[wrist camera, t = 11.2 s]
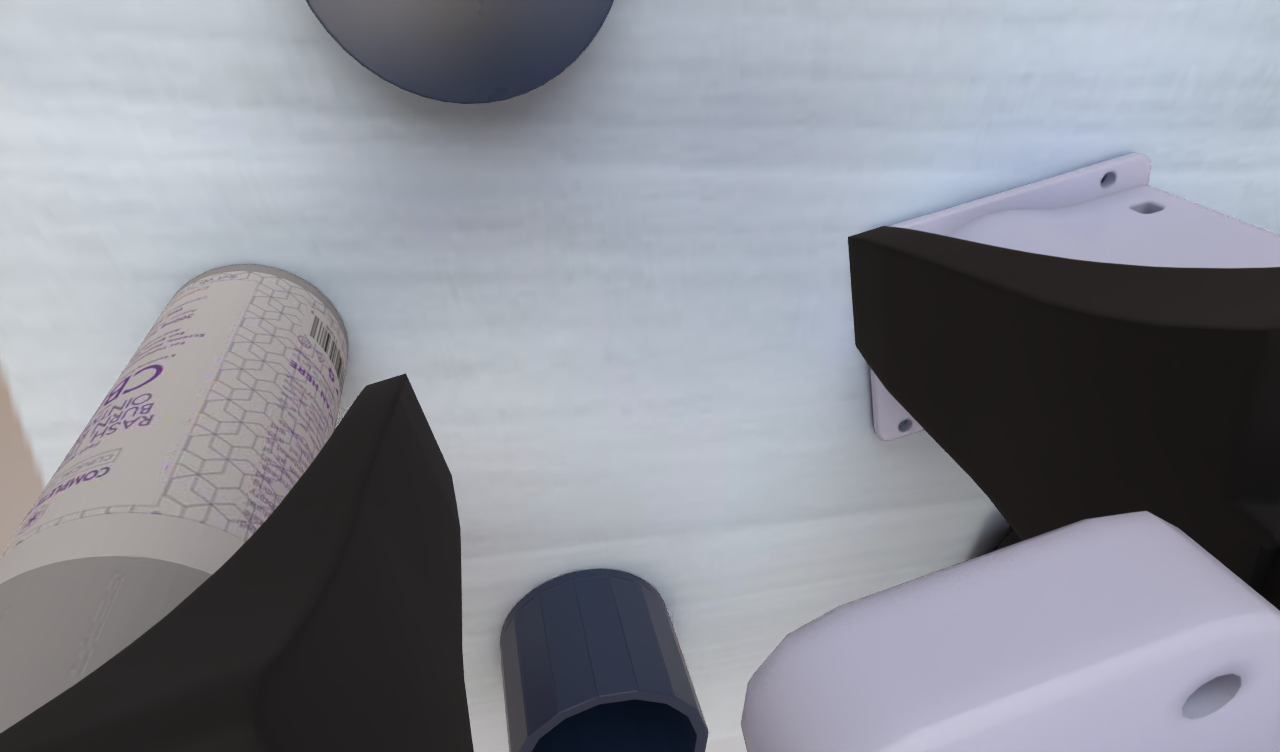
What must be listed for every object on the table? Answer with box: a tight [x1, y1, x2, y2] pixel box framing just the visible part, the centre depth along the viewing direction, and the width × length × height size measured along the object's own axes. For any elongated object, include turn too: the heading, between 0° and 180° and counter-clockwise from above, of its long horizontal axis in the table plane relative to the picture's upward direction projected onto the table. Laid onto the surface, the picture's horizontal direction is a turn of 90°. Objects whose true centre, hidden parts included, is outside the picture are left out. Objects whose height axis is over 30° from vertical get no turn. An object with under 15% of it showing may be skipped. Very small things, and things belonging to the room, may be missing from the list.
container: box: [0, 264, 348, 733], centre depth 15 cm, size 5×5×15 cm
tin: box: [500, 569, 708, 752], centre depth 28 cm, size 6×6×5 cm
